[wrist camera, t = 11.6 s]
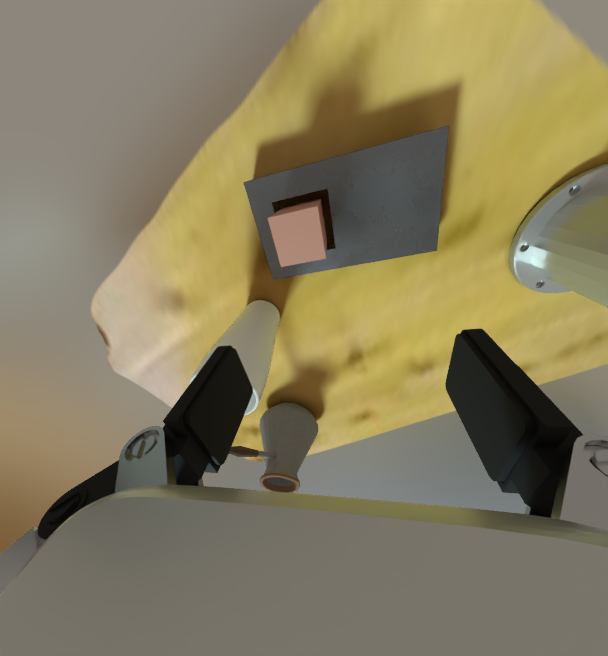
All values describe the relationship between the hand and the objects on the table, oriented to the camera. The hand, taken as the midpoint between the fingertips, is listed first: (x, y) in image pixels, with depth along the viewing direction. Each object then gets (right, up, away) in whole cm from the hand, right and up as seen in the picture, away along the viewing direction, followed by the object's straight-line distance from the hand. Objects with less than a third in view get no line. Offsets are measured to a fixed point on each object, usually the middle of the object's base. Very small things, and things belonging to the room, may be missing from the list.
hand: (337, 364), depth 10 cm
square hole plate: (+3, +14, +15) cm, 21 cm away
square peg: (-1, +14, +16) cm, 21 cm away
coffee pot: (-6, -12, +34) cm, 37 cm away
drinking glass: (-8, +4, +24) cm, 25 cm away
